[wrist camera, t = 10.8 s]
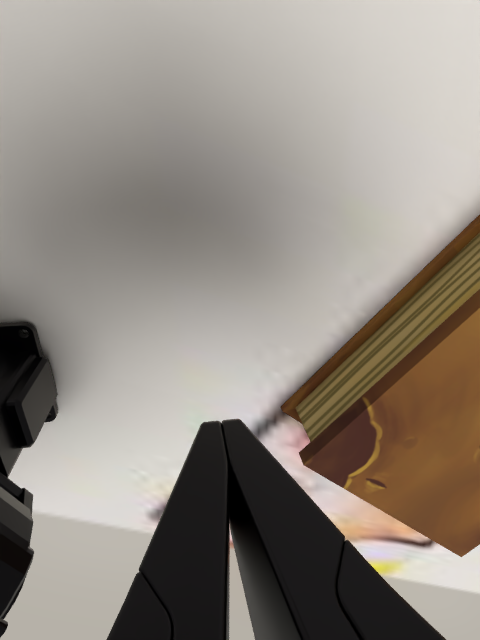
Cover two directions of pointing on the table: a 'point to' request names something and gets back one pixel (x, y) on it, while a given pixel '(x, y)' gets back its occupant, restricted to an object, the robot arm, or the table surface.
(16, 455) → the robot arm
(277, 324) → the table surface
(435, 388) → the diary
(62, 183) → the table surface
